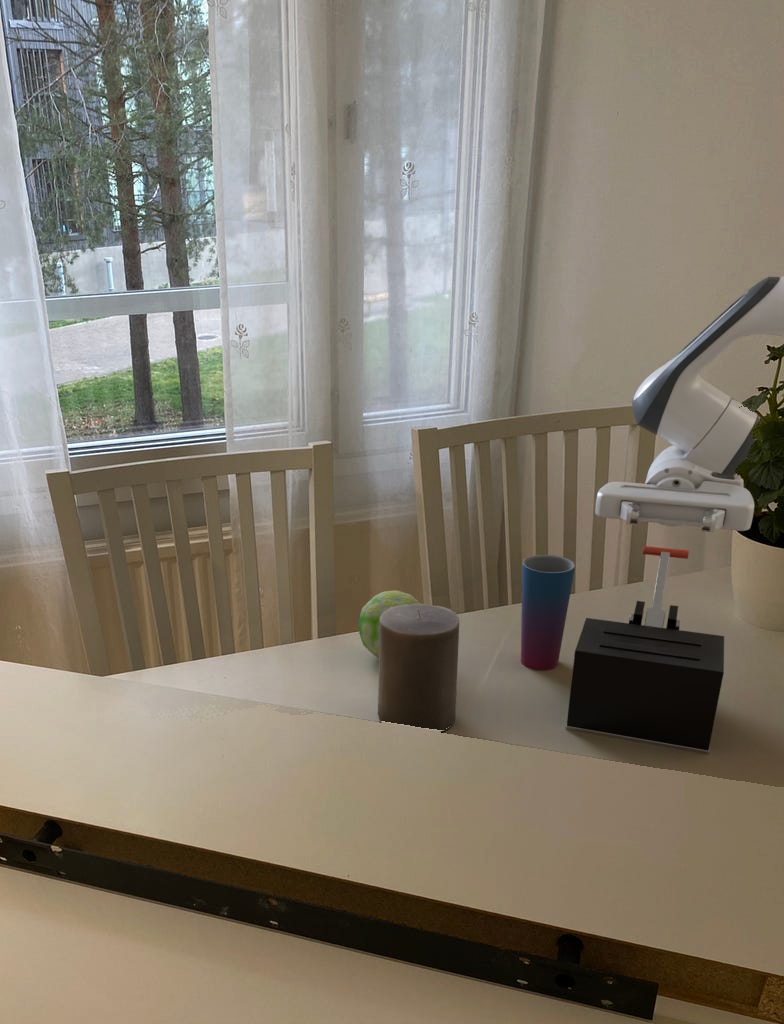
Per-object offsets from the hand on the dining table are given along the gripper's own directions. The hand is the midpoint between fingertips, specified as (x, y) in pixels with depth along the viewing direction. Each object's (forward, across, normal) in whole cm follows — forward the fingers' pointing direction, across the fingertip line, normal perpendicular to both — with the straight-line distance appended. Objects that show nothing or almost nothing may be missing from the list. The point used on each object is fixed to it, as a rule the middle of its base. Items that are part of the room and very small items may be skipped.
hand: (669, 522), depth 120 cm
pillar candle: (+28, -26, +20) cm, 43 cm away
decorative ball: (+13, -34, +20) cm, 41 cm away
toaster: (+20, 0, +20) cm, 28 cm away
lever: (+7, 0, +7) cm, 10 cm away
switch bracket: (+11, 0, +20) cm, 23 cm away
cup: (+8, -14, +20) cm, 26 cm away
